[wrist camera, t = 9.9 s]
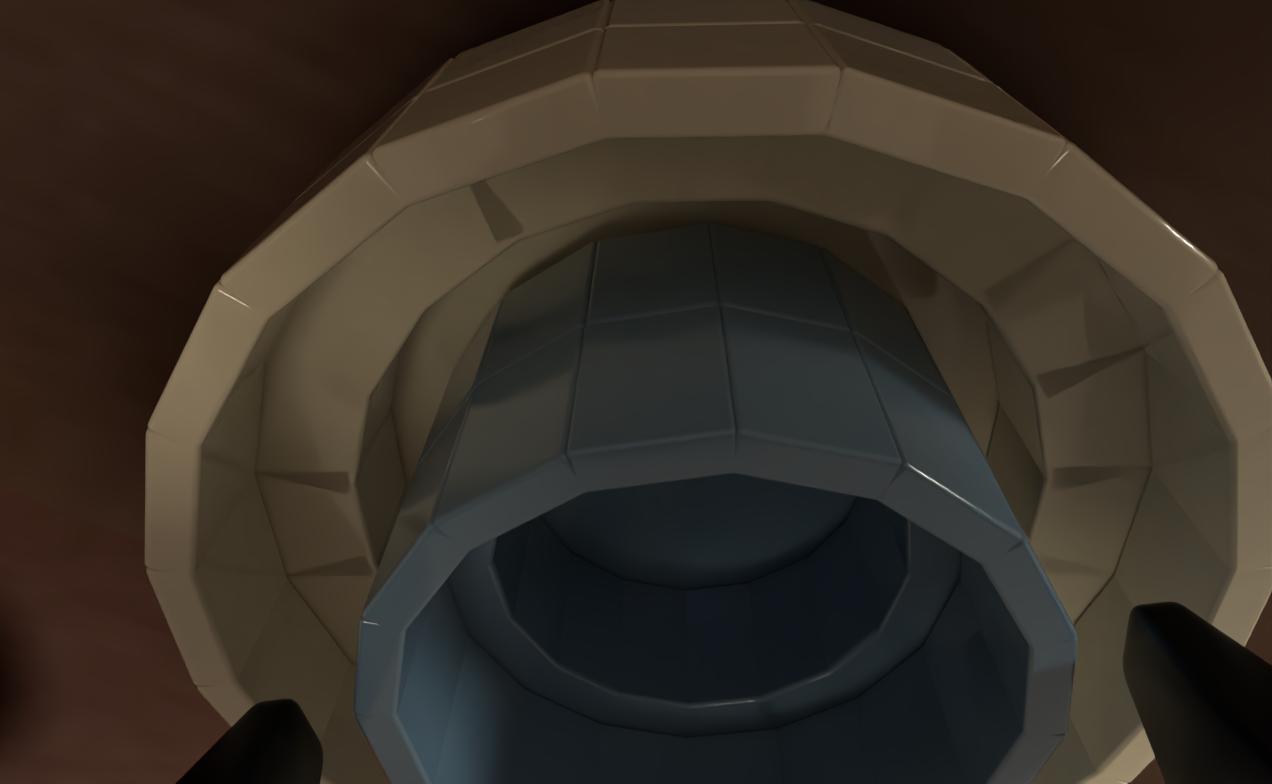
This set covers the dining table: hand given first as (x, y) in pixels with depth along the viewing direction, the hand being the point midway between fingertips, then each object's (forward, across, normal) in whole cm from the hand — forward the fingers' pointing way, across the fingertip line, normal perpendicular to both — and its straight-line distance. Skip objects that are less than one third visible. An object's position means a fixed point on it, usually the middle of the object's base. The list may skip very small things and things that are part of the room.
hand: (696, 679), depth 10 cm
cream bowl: (+5, 0, 0) cm, 5 cm away
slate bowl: (+4, 0, 0) cm, 4 cm away
